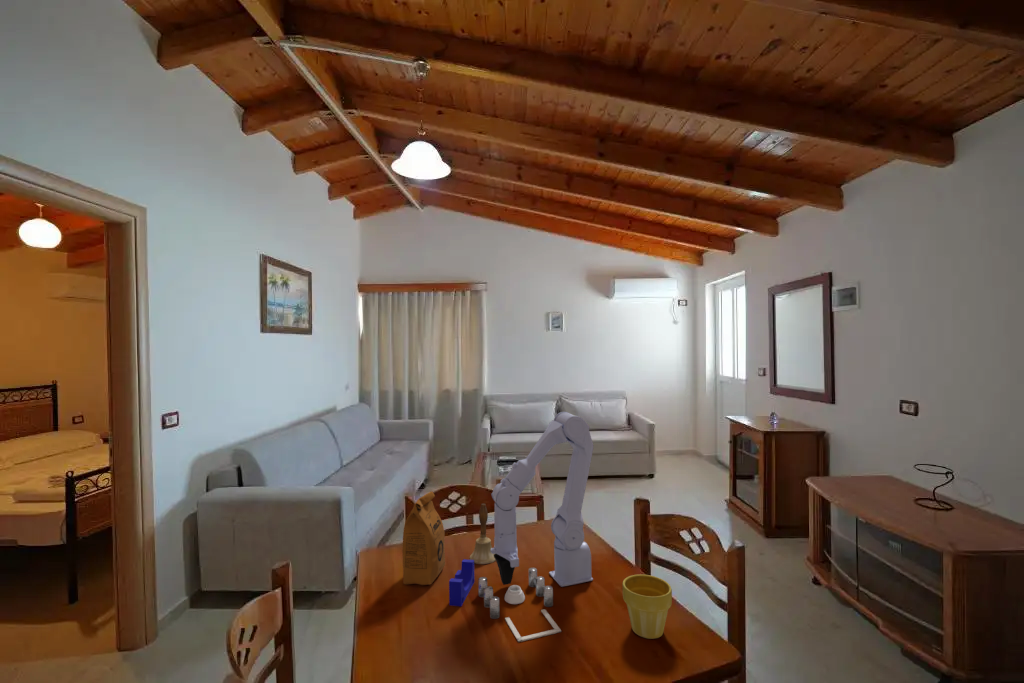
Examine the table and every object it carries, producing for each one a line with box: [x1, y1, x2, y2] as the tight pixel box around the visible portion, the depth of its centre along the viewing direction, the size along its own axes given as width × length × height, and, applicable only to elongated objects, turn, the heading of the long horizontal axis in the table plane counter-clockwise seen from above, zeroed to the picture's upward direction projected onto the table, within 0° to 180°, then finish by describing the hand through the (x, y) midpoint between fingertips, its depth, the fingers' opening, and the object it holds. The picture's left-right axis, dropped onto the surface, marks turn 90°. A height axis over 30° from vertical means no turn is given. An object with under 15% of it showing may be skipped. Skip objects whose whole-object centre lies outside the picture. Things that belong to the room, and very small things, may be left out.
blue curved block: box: [448, 559, 475, 607], centre depth 120 cm, size 12×4×6 cm, turn 169°
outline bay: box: [504, 608, 562, 643], centre depth 105 cm, size 10×9×1 cm
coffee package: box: [401, 490, 446, 586], centre depth 129 cm, size 10×12×22 cm
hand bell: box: [469, 503, 496, 565], centre depth 140 cm, size 8×8×16 cm
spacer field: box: [477, 567, 554, 620], centre depth 116 cm, size 16×12×4 cm
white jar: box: [504, 584, 526, 605], centre depth 116 cm, size 5×3×5 cm
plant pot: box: [622, 574, 673, 640], centre depth 103 cm, size 10×10×10 cm
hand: (506, 583), depth 122 cm, fingers closed
